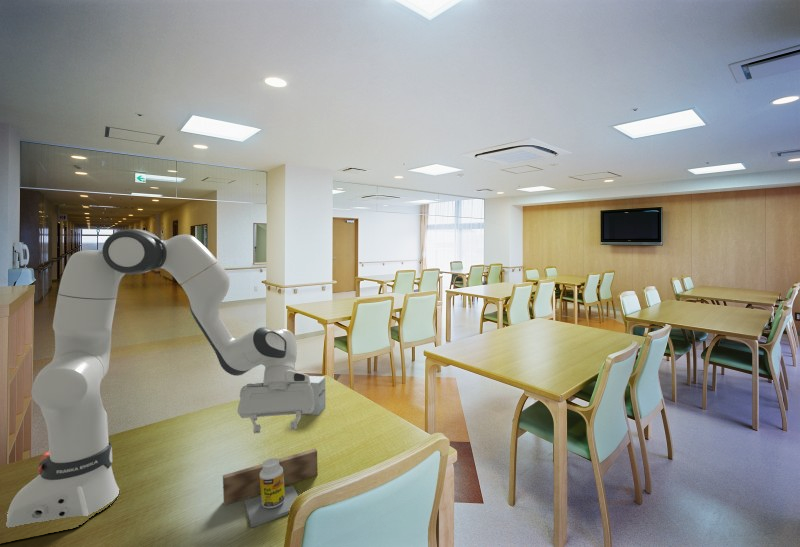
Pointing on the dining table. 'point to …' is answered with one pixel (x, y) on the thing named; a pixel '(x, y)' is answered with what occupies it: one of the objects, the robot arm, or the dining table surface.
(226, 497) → the walnut screen
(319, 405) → the supplement box
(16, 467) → the dining table surface
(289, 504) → the grey mat
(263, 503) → the supplement bottle
